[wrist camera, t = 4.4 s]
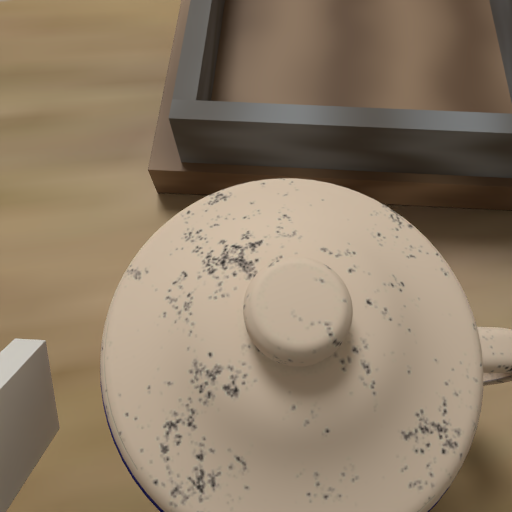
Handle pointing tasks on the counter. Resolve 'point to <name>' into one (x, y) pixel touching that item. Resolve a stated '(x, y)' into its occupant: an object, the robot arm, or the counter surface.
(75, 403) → the counter surface
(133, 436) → the teacup with lid
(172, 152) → the collar stand
